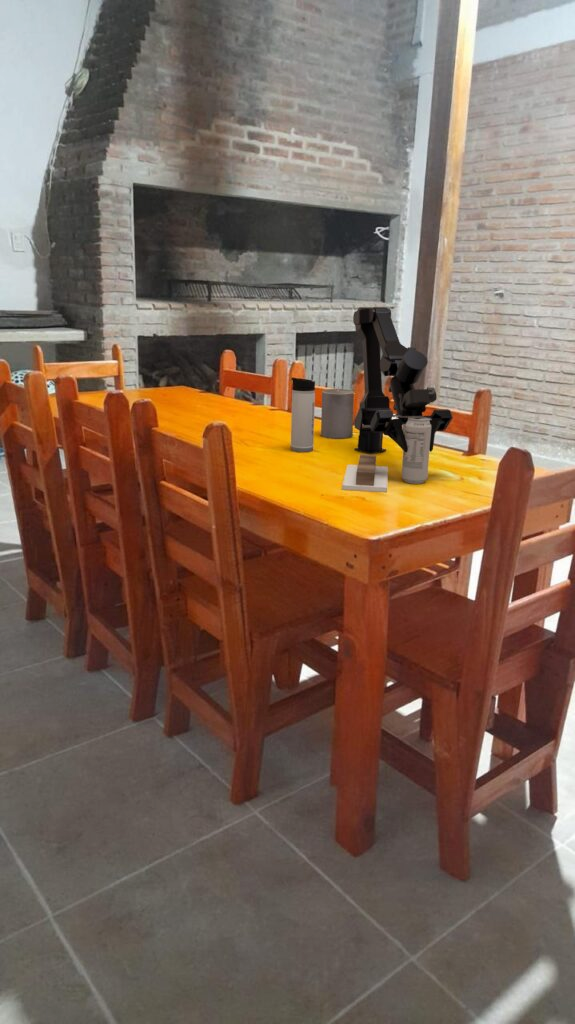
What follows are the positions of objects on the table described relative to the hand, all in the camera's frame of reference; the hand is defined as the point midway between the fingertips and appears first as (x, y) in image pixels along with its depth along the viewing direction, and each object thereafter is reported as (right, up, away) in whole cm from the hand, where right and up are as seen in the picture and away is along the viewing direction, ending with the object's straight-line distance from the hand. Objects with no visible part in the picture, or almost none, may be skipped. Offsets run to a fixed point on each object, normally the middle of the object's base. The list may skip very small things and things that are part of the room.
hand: (419, 451), depth 166 cm
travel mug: (-27, +3, +34) cm, 43 cm away
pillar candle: (-15, +9, +54) cm, 57 cm away
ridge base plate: (-12, -6, +4) cm, 14 cm away
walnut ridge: (-12, -6, +4) cm, 14 cm away
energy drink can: (-1, -7, +4) cm, 8 cm away
